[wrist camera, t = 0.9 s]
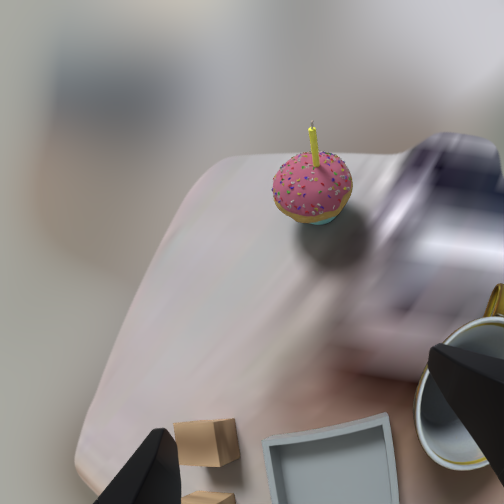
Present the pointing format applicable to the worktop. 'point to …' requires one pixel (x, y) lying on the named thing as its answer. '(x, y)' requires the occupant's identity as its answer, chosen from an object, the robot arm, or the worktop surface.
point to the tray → (334, 464)
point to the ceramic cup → (436, 407)
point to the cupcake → (312, 185)
